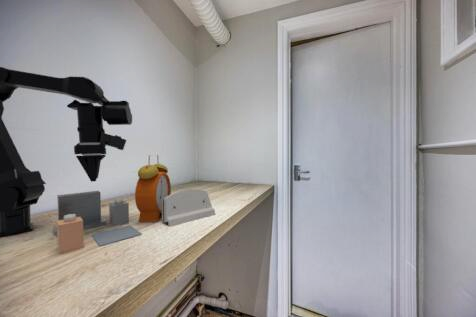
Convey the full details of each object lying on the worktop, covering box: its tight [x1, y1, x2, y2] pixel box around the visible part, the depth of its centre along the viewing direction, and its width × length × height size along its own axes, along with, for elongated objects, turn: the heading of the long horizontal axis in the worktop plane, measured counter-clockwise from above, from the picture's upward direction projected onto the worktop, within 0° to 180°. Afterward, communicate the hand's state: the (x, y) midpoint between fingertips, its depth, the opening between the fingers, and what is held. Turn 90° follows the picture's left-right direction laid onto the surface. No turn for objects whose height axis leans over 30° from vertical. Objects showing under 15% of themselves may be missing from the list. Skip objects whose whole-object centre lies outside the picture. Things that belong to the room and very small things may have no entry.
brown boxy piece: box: [56, 214, 85, 255], centre depth 43 cm, size 4×4×7 cm
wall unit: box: [52, 190, 107, 237], centre depth 55 cm, size 5×11×10 cm, turn 136°
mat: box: [90, 224, 143, 247], centre depth 50 cm, size 9×9×1 cm
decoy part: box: [108, 197, 130, 228], centre depth 59 cm, size 4×4×7 cm
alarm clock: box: [134, 154, 172, 223], centre depth 65 cm, size 13×6×20 cm, turn 178°
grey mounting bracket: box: [161, 188, 216, 227], centre depth 64 cm, size 17×5×10 cm, turn 133°
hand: (94, 179), depth 57 cm, fingers open, 9 cm apart
